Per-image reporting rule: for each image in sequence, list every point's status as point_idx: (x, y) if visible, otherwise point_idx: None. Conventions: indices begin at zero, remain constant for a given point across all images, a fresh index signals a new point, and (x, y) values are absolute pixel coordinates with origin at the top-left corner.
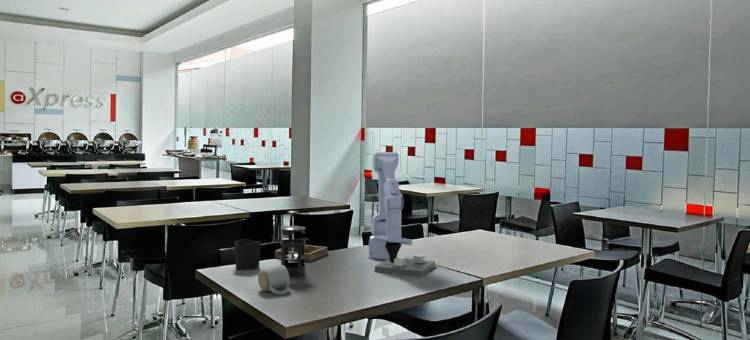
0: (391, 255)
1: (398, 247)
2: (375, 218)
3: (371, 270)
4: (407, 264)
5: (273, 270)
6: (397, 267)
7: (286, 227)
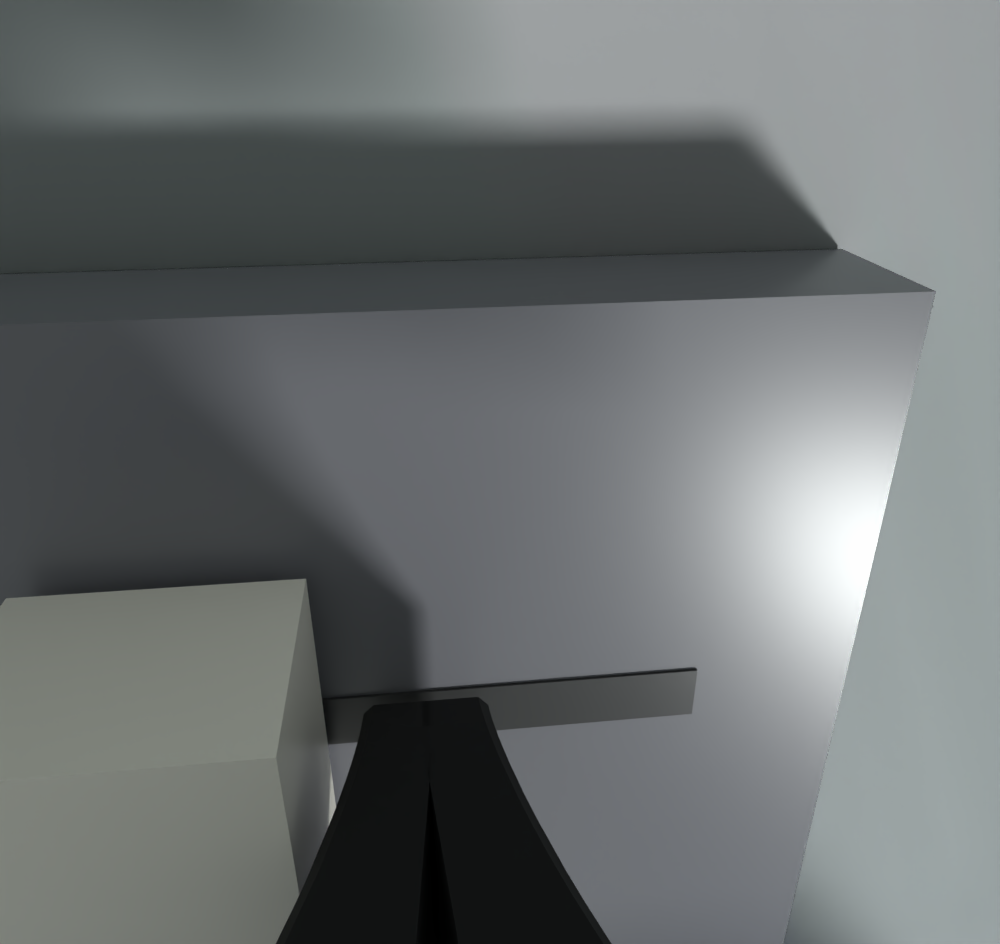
0: (453, 926)
1: None
2: None
3: (958, 333)
4: None
5: None
6: (115, 488)
7: None
